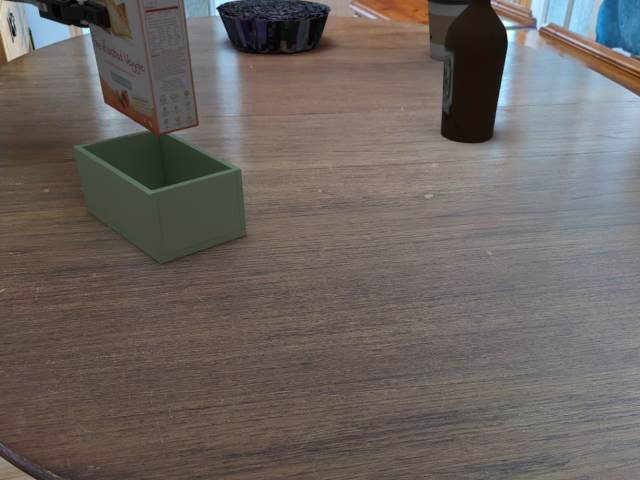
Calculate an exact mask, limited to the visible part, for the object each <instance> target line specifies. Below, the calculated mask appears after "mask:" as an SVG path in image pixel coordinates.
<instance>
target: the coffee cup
mask: <svg viewBox="0 0 640 480" xmlns="http://www.w3.org/2000/svg"><path fill="white" fill-rule="evenodd" d="M426 1H427V11H428V35H429V36H428V37H429V53H430V57H431V59H433V60H435V61H436V60H437V61H442V62H444V43H445V37H446V34H447V31H448V28H449V26H450V25H451V23H452V22H453V21H454V20H455V19H456V18H457V17H458V16H459V15H460V14H461V13H462V11H463V10H464V9H465V8H466V7H467V6H468V5H469V4H470V1H471V0H426Z"/></svg>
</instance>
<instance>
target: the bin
mask: <svg viewBox="0 0 640 480" xmlns="http://www.w3.org/2000/svg"><path fill="white" fill-rule="evenodd" d="M72 149H73V153H74V158H75V161H76V167H77V171H78V176H79V180H80V185H81V189H82V194H83V198H84V202H85V208H86V211H87V212H88V213H89V214H90V215H92V216H93V217H94V218H96V219H97V220H99V221H100V222H101V223H103V224H104V225H105V226H107V227H108V228H110V229H111V230H112V231H115V232H116V233H117V234H118V235H120V236H121V237H123V239H125V240H127V242H129V243H131V244H132V245H133V246H135V247H136V248H138V249H139V250H140V251H142V252H143V253H145V255H147V256H148V257H150V258H151V259H153V260H154V261H155V262H157V263H158V264H159V265H163V264H167V263H169V262H171V261H174V260H177V259H178V260H179V259H180V258H183V257H186V256H188V255H189V256H190V255H192V254H196V253H198V252H200V251H205V250H206V249H210V248H212V247H216V246H219V245H221V244H225V243H228V242H231V241H233V240H236V239H239V238H242V237H245V236H247V235H248V233H247V224H246V223H247V222H246V211H245V199H244V198H245V197H244V188H243V187H244V185H243V174H242V169H241V168H240V167H238V166H237V165H234V164H232V163H230V162H228V161H226V160H225V159H223V158H221V157H219V156H217V155H215V154H214V153H212V152H209V151H207V150H205V149H203V148H202V147H199V146H198V145H195V144H194V143H192V142H189V141H188V140H186V139H184V138H182V137H180V136H178V135H176V134H175V133H173V132H171V133H168V134H164V135H159V136H158V135H156V134H154V133H153V132H151V131H150V130H148V129H147V130H146V129H145V130H142V131H138V132H133V133H129V134H128V133H127V134H124V135H120V136H115V137H109V138H106V139H102V140H97V141H92V142H87V143H82V144H78V145H73V146H72Z"/></svg>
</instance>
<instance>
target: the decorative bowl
mask: <svg viewBox="0 0 640 480" xmlns="http://www.w3.org/2000/svg"><path fill="white" fill-rule="evenodd" d="M215 9H216V10H217V13H218V15H219V17H220V19H221V22H222V24H223V27H224V29H225V32H226V34H227V36H228V39H229V41H230V43H231V44H232V45H233V46H234V47H235V48H236V49H237V50H239V51H242V52H247V53H251V54H255V53H256V54H257V53H260V54H276V53H277V54H278V53H282V54H294V53H301V52H307V51H311V49H316V48H317V47H318V46H319V45H320V44H321V40H322V37H323V35H324V31H325V27H326V23H327V21H328V18H329V15H330V13H331V11H332V9H331V7H330V6H329V5H327V4H324V3H320V2H316V1H310V0H308V1H307V0H232V1H226V2H224V3H220V4H219V5H218V6H216V7H215Z"/></svg>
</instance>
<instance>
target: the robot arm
mask: <svg viewBox="0 0 640 480" xmlns="http://www.w3.org/2000/svg"><path fill="white" fill-rule="evenodd" d="M3 1H4V2H11V3H18V4H19V3H20V4H27V5H28V4H29V5H32V6H33V7H35V8H37V10H38V15H39V17H40V18H42V19H45V20H47V21H52V22H55V23H57V24H61V25H64V26H67V27H69V26H73V27H76V28H81V29H89V24H94V25H96V26H98V27H101V28H103V29H107V28H111V23H110V18H109V13H108V9H107V7H105V6H103V5H101V4H98V3H95V2H93V1H90V2H88V0H3Z"/></svg>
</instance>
